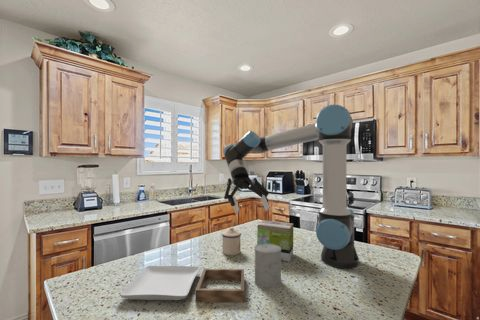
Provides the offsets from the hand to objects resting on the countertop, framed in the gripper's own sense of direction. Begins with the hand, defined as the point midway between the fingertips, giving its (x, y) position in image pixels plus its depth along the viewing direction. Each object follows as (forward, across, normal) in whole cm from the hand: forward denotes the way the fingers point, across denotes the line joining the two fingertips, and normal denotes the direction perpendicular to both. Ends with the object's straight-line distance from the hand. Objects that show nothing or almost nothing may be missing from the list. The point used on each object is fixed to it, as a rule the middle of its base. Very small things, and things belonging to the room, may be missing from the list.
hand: (253, 210), depth 96 cm
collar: (+23, +16, -10) cm, 30 cm away
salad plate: (+17, +34, -17) cm, 42 cm away
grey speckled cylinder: (+25, 0, -9) cm, 26 cm away
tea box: (+11, -16, -23) cm, 30 cm away
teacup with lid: (+1, 0, -33) cm, 33 cm away
